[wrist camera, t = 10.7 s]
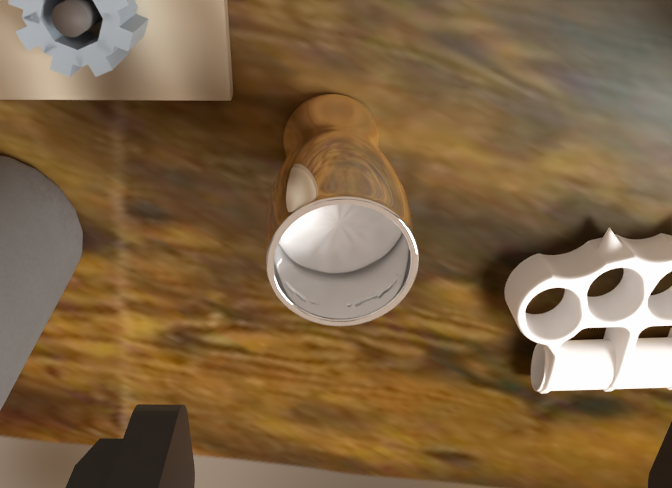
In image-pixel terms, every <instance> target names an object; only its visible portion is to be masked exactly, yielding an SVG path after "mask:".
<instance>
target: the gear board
mask: <svg viewBox="0 0 672 488" xmlns="http://www.w3.org/2000/svg"><path fill="white" fill-rule="evenodd" d="M135 2H136V4H137V6H138V8H137V12H136V14H138V15H140V16H142V17H145V18H147V19H149V20H148V23H147V27H146V31H145V34H144V37H143V38H142V39H141V40H140V41H139V42H138V43H137V44H136V45H135V46H133V47H132V48H131V49H130V50H129V54H128V55H127V56H126V57H125V58H124V59H123V60H122V61H121V62H120V63H119V64H118V65H117V66H116V67H115V68H114V69H113V70H111V71H109V72H106V73H104V74H102V75H99V76H97V77H95V75H94V74H93V72H92V70H91V69H90V67H89V65H85V66H83V67H81V68H80V69H79V70H78V71H77V72H75V73H74V74H73V75H72V76H71V77H69V76H66V75H63V74H61V73H58V72H56V71H53V70H50V67H51V62H52V57H53V56H50V55H47V54H45V53H44V52H43V51H42V49H41V47H40V46H37V47H35V48H32V49H30V50H28V51H27V50H26V48H25V46H24V45H23V43H22V42H21V40H20V39H19V37H18V36H17V34H16V33H15V31H17V30H19V29H21V28H23V27H25V26H27V25H26V24H25V22H24V20H23V19H22V15H23V9H20V8H18V7H15V6H13V5H10V4H8V3H9V0H0V100H196V101H231V99H232V96H233V80H232V65H231V50H230V35H229V21H228V6H227V0H136V1H135ZM102 21H103V18H102V16H101V14H100V12H99V11H98V9H97V7H96V5H95V4H94V2H93V0H65V1H64V2H62V3H60V4H58V5H57V6H55V8H54V9H53V11H52V22H53V24H54V26H55V28H56V29H57V30H58V31H59V32H60V33H61V34H63V35H65V36H68V37H77V36H79V35H81V34H82V33H84V32H85V31H89V32H92V33H94V34H97V35H99V34H100V30H101V25H102Z"/></svg>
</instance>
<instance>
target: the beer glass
mask: <svg viewBox="0 0 672 488" xmlns="http://www.w3.org/2000/svg"><path fill="white" fill-rule="evenodd" d="M283 144H284V151H285V155H286V159H285V161H284V163H283V165H282V166H281V168H280V170H279V172H278V174H277V177H276V179H275V182H274V184H273V187H272V189H271V193H270V198H269V203H268V208H267V218H266V249H267V257H266V269H267V275H268V279H269V282H270V284H271V287H272V289H273V291H274V292H275V294H276V295H277V297H278V298H279V299H280V301H281V302H282V303H283V304H284V305H285V306H286V307H287V308H289V309H290V310H291V311H293V312H294V313H296V314H297V315H299V316H301V317H303V318H305V319H307V320H310V321H312V322H316V323H319V324H324V325H331V326H350V325H357V324H361V323H365V322H368V321H371V320H374V319H376V318H378V317H380V316H382V315H384V314H386V313H387V312H389V311H390V310H391V309H393V308H394V307H395V306H396V305H398V304H399V303H400V302H401V301H402V300H403V298H404V297H405V296H406V295H407V293H408V292H409V290H410V289H411V287H412V285H413V283H414V280H415V278H416V274H417V270H418V263H419V256H418V248H417V244H416V241H415V233H414V226H413V219H412V214H411V210H410V206H409V202H408V198H407V195H406V193H405V190H404V188H403V185H402V183H401V180H400V178H399V177H398V175H397V173H396V172H395V170H394V169H393V167H392V166H391V164H390V163H389V161H388V160H387V159H386V157H385V156H384V155H383V154H382V153H381V151H380V150H379V131H378V127H377V124H376V121H375V119H374V117H373V116H372V114H371V113H370V112H369V110H368V109H367V108H366V107H365V106H364V105H362V104H361V103H360V102H358V101H357V100H355V99H353V98H351V97H348V96H345V95H340V94H323V95H319V96H315V97H313V98H311V99H309V100H307V101H305V102H304V103H302V104H301V105H300V106H299V107H298V108H296V110H295V111H294V112H293V113H292V114H291V116H290V118H289V119H288V121H287V124H286V126H285V130H284V136H283Z"/></svg>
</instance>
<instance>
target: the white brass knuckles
mask: <svg viewBox="0 0 672 488" xmlns="http://www.w3.org/2000/svg"><path fill="white" fill-rule="evenodd" d="M615 268H624V273H623V277H622V280H621V281H620V283H619V284H618V285H617V287H616V288H614V289H613V290H612V291H610V292H609V293H607V294H604V295H602V296H597V297H588V296H587V292H588V289H589V287H590V285H591V284H592V282H593V281H594V280H595V279H596V278H597V277H598V276H600V275H601V274H603V273H604V272H606V271H609V270H611V269H615ZM671 271H672V236H671V235H667V234H663V233H661V234H658V235H656V236H653V237H650V238H646V239H627V238H624V237H621V236H619V235H617V234H614V233H613V232H612V230H611V229H610V228H608V230H607V231H606V233H605V235H604V236H603V237H602V238H598V239H594V240H590V241H587V242H586V243H585V244H584V245H582V246H581V247H579V248H577V249H575V250H573V251H571V252H568V253H565V254H560V255H544V254H540V253H537V254H535V255H533V256H531V257H529V258H527V259H525V260H524V261H522V262H521V263H520V264H519V265H518V266H517V267H516V268H515V269H514V270H513V271H512V273H511V274H510V276H509V277H508V279H507V282H506V285H505V291H504V295H505V300H506V303H507V305H508V307H509V309H510V312H511V314H512V316H513V318H514V320H515V322H516V324H517V326H518V328H519V330H520V331H521V332H522V334H523V335H524V336H526V337H527V338H528V339H530V340H532V341H534V342H536V343H537V344H536V346H535V349H534V352H533V356H532V362H531V382H532V386H533V389H534V390H535V391H539V393H548V392H550V391H563V390H599V389H603V390H604V391H612V390H614V389H633V388H666V387H667V389H672V328H670V331H669V334H668V337H664V338H638V336H639V334H640V333H641V332H642V331H643V330H644V329H646V328H648V327H651V326H672V286H671V287H670V288H669V289H667V290H665V291H664V292H662V293H659V294H656V295H651V296H650V294H651V292H652V291H653V289H654V288H655V286H656V285H657V284H658V282H659V281H660V280H661V279H662V278H663V277H664V276H665V275H666V274H668V273H669V272H671ZM551 288H565V293H564V297H563V299H562V301H561V302H560V303H559V304H558V305H557V306H556V307H555V308H554V309H552V310H550V311H548V312H546V313H542V314H529V313H526V312H525V311H526V307H527V305H528V303H529V302H530V301H531V299H532V298H533V297H535V296H536V295H537V294H539V293H540V292H542V291H545V290H547V289H551ZM603 327H606V331H605V335H604V338H603V339H594V340H569V339H571V338H572V337H574V336H575V335H576V334H577V333H579V332H580V331H581V330H583V329H585V328H603Z"/></svg>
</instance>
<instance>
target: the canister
mask: <svg viewBox="0 0 672 488" xmlns="http://www.w3.org/2000/svg"><path fill="white" fill-rule="evenodd" d="M82 241H83V231H82V228H81V225H80V222H79V219H78V216H77V213H76V210H75V208H74V207H73V206H72V204H71V203H70V201H69V200H68V199H67V197H66V196H65V194H64V193H63V192H62V190H61V189H60V188H59V187H58V186H57V185H56V184H54V183H53V182H52V181H51V180H49V179H48V178H47V177H46V176H44V175H43V174H42V173H41V172H40V171H38V170H37V169H35V168H32V167H30V166H28V165H26V164H24V163H22V162H20V161H17V160H15V159H13V158H11V157H6V156H0V410H1V408H2V406H3V404H4V403H5V401H6V399H7V397H8V395H9V393H10V391H11V389H12V387H13V386H14V384H15V382H16V380H17V378H18V376H19V374H20V372H21V371H22V369H23V367H24V365H25V363H26V361H27V359H28V357H29V356H30V354H31V352H32V350H33V348H34V346H35V344H36V342H37V340H38V339H39V337H40V335H41V333H42V331H43V329H44V327H45V325H46V324H47V322H48V320H49V318H50V316H51V314H52V312H53V310H54V309H55V307H56V305H57V303H58V301H59V299H60V297H61V295H62V293H63V292H64V290H65V288H66V286H67V284H68V282H69V280H70V278H71V277H72V275H73V272H74V270H75V268H76V266H77V264H78V262H79V260H80V258H81V255H82Z"/></svg>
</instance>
